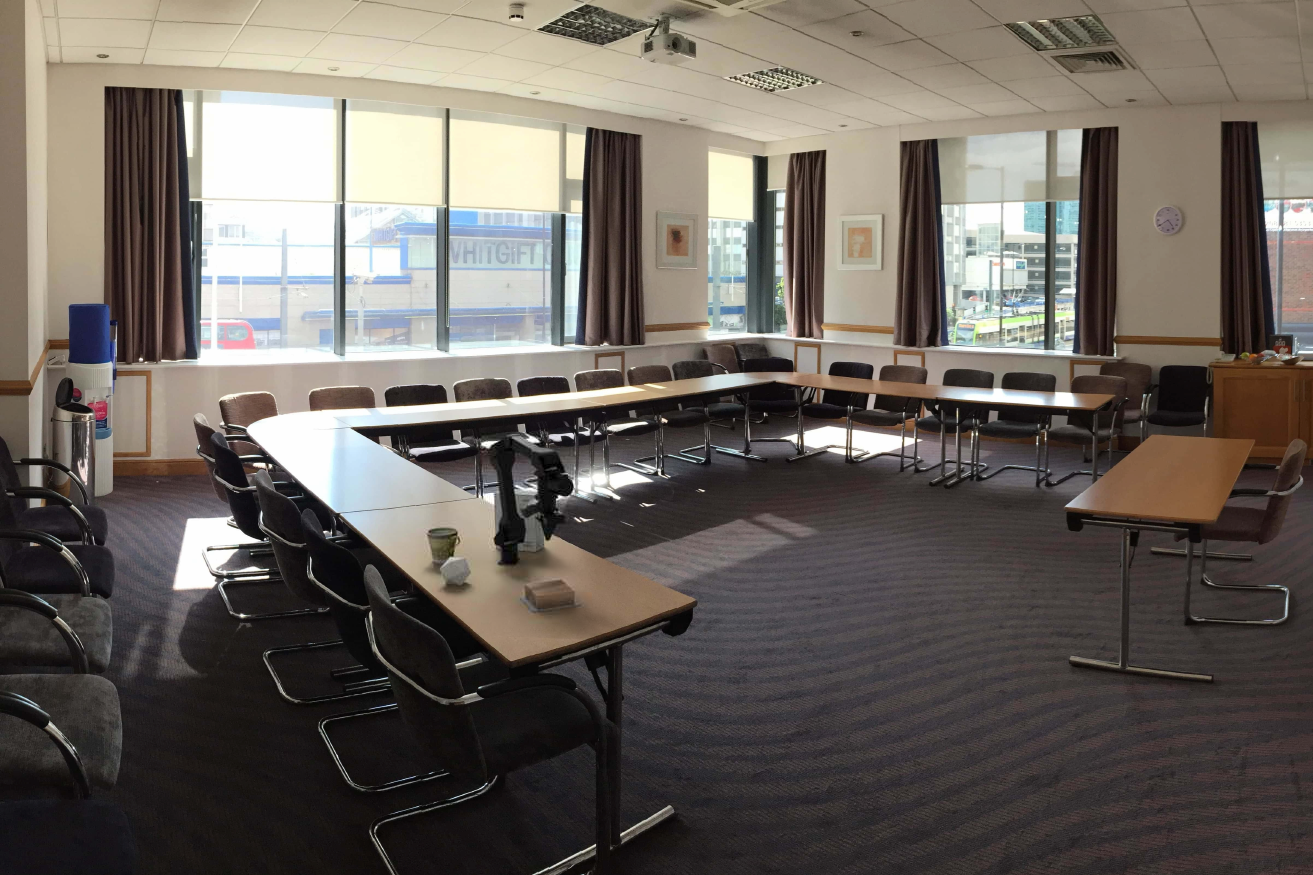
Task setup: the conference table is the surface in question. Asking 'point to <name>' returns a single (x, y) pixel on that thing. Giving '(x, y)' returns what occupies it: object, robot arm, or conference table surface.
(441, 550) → the ceramic cup
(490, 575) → the conference table surface
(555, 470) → the robot arm
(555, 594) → the walnut slab
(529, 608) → the felt mat
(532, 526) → the hard drive box
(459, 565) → the die
